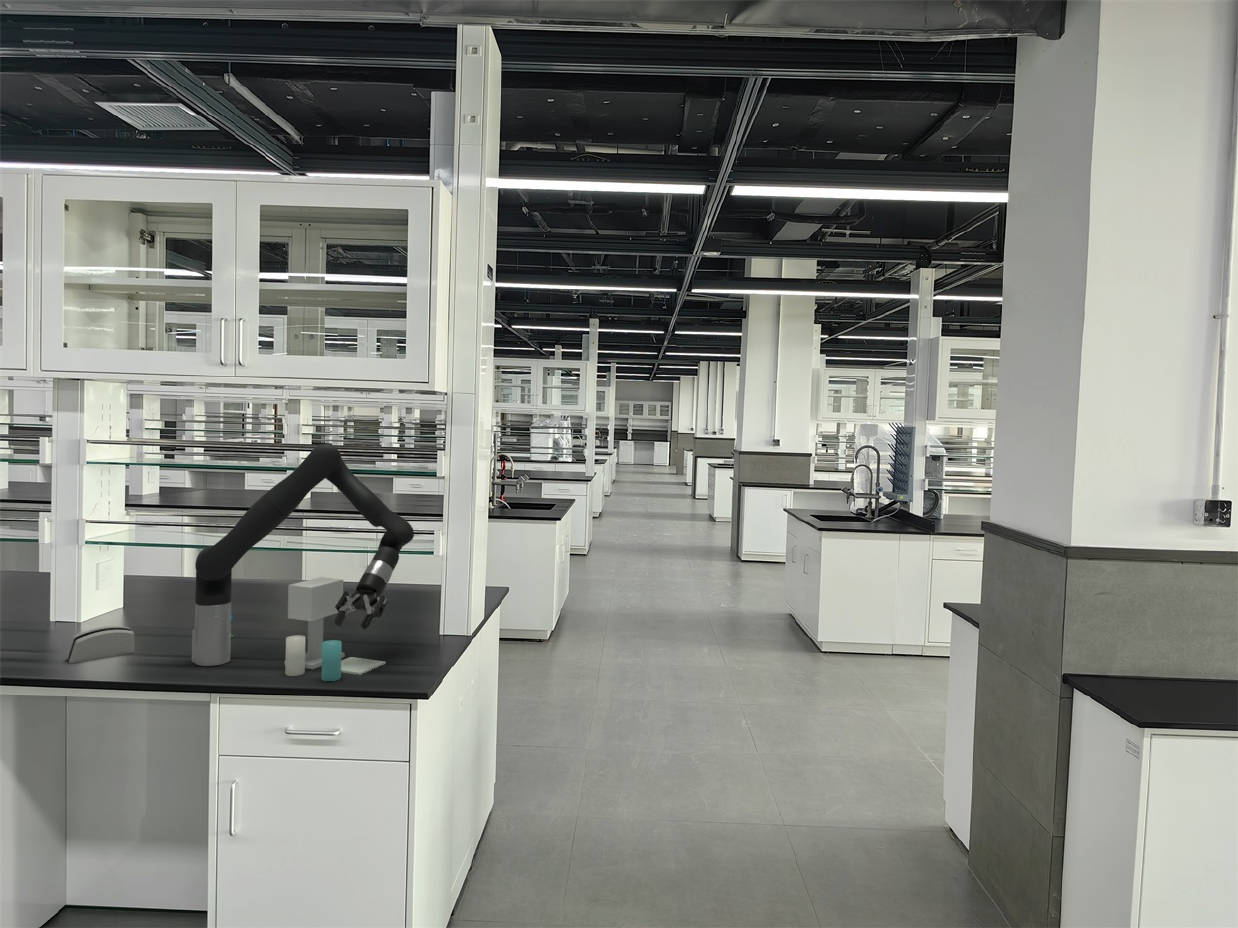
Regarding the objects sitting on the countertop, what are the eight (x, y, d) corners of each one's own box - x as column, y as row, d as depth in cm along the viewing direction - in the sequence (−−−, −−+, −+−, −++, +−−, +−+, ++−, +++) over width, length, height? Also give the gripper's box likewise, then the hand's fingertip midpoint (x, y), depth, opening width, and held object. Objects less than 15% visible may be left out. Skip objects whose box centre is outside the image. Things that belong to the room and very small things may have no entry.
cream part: (281, 674, 224) (281, 638, 224) (293, 669, 229) (294, 634, 229) (296, 676, 223) (296, 640, 222) (308, 671, 228) (309, 636, 227)
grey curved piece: (128, 648, 244) (133, 619, 242) (134, 657, 241) (139, 627, 239) (64, 659, 231) (68, 629, 229) (69, 668, 228) (73, 637, 226)
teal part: (317, 680, 221) (318, 643, 220) (329, 675, 225) (330, 639, 225) (332, 682, 219) (333, 645, 219) (344, 677, 224) (345, 641, 223)
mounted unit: (284, 664, 233) (285, 584, 232) (318, 652, 247) (319, 576, 246) (313, 669, 230) (314, 587, 229) (345, 656, 244) (347, 579, 243)
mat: (324, 669, 230) (324, 667, 230) (350, 658, 241) (351, 656, 241) (360, 674, 226) (360, 672, 226) (385, 663, 238) (385, 661, 238)
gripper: (349, 569, 239) (322, 616, 229) (391, 573, 235) (365, 621, 224) (360, 584, 244) (334, 630, 234) (401, 588, 240) (377, 636, 229)
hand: (350, 626), depth 229 cm, fingers open, 8 cm apart
